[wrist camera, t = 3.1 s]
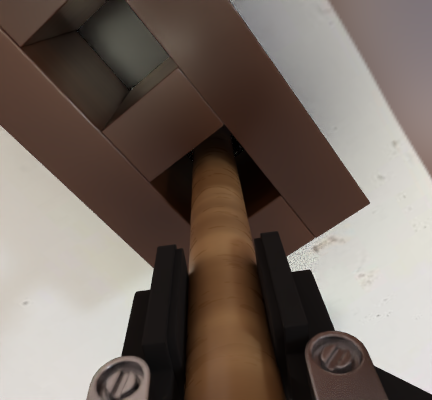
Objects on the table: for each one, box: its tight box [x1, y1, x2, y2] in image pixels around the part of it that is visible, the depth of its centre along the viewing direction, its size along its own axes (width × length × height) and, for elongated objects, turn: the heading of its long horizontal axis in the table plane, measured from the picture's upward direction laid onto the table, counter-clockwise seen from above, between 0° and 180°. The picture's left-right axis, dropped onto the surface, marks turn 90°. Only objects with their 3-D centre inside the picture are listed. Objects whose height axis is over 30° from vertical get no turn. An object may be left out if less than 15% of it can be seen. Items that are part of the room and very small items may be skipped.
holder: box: [0, 0, 370, 274], centre depth 21 cm, size 10×17×8 cm, turn 38°
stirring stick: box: [184, 124, 286, 400], centre depth 17 cm, size 2×2×20 cm
